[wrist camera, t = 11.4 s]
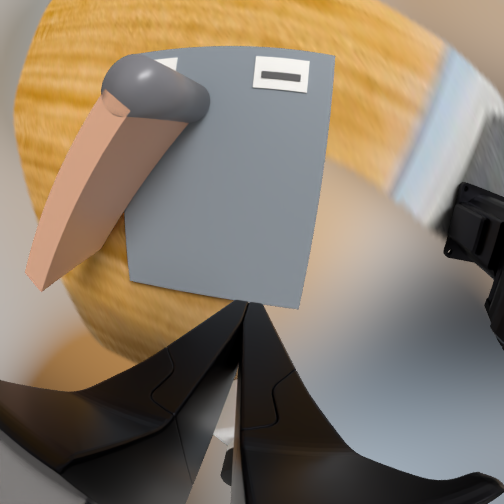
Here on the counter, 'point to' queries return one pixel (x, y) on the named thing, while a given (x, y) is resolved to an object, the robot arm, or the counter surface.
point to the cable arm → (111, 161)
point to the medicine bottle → (227, 432)
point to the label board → (237, 178)
